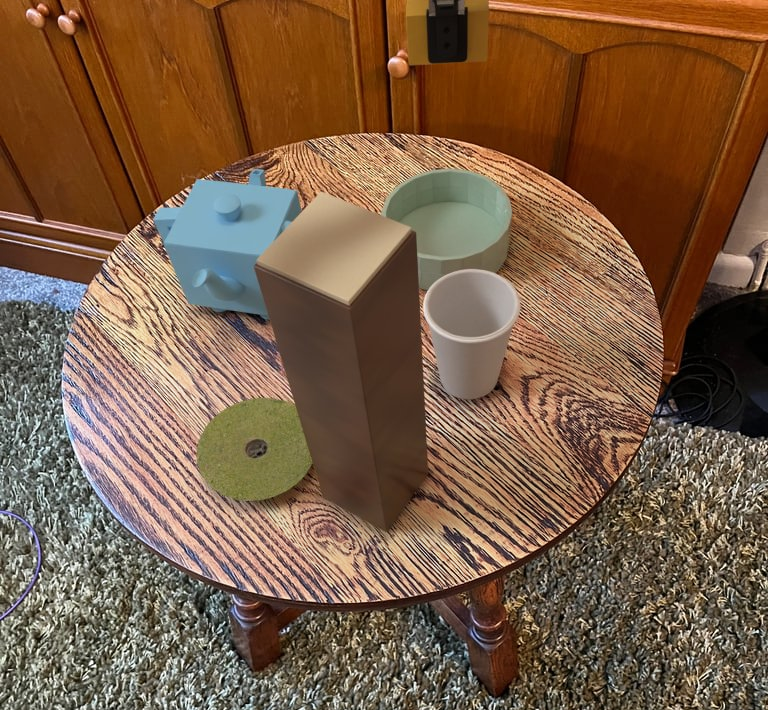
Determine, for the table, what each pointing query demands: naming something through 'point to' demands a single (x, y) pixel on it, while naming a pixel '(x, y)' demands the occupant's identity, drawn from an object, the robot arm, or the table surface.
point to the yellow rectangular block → (418, 31)
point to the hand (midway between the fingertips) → (448, 42)
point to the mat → (254, 450)
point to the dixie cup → (470, 329)
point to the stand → (352, 351)
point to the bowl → (453, 221)
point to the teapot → (225, 239)
